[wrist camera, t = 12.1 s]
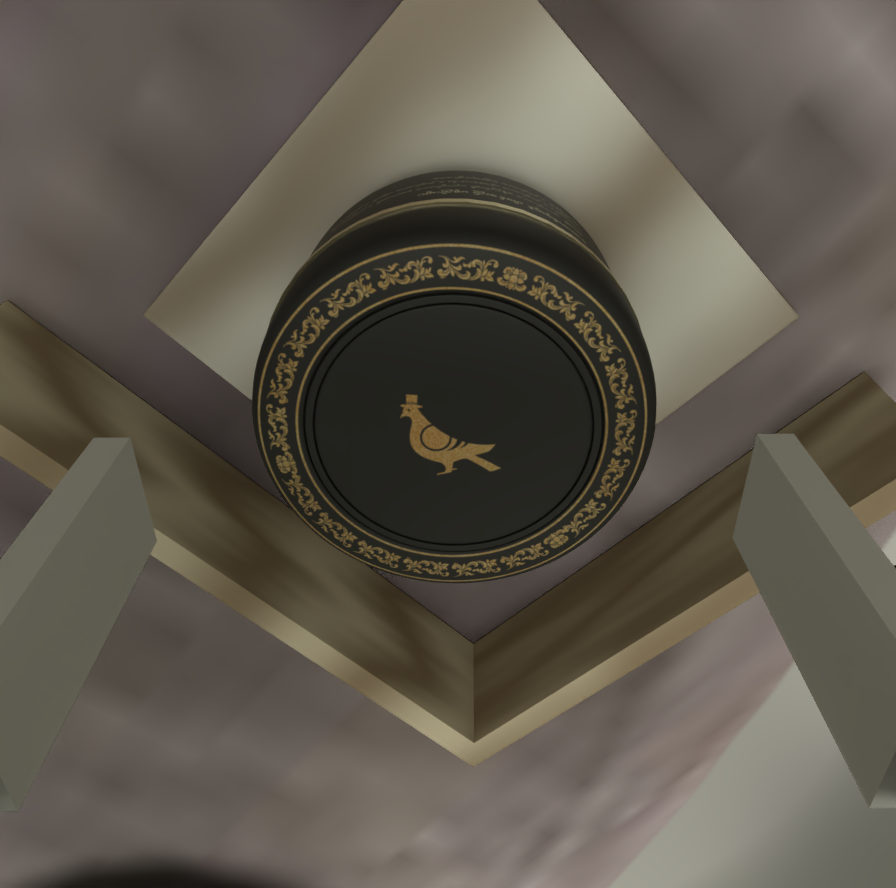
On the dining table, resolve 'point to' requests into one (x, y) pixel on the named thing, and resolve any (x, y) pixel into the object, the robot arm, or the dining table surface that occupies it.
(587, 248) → the jar
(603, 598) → the arena
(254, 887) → the dining table surface
